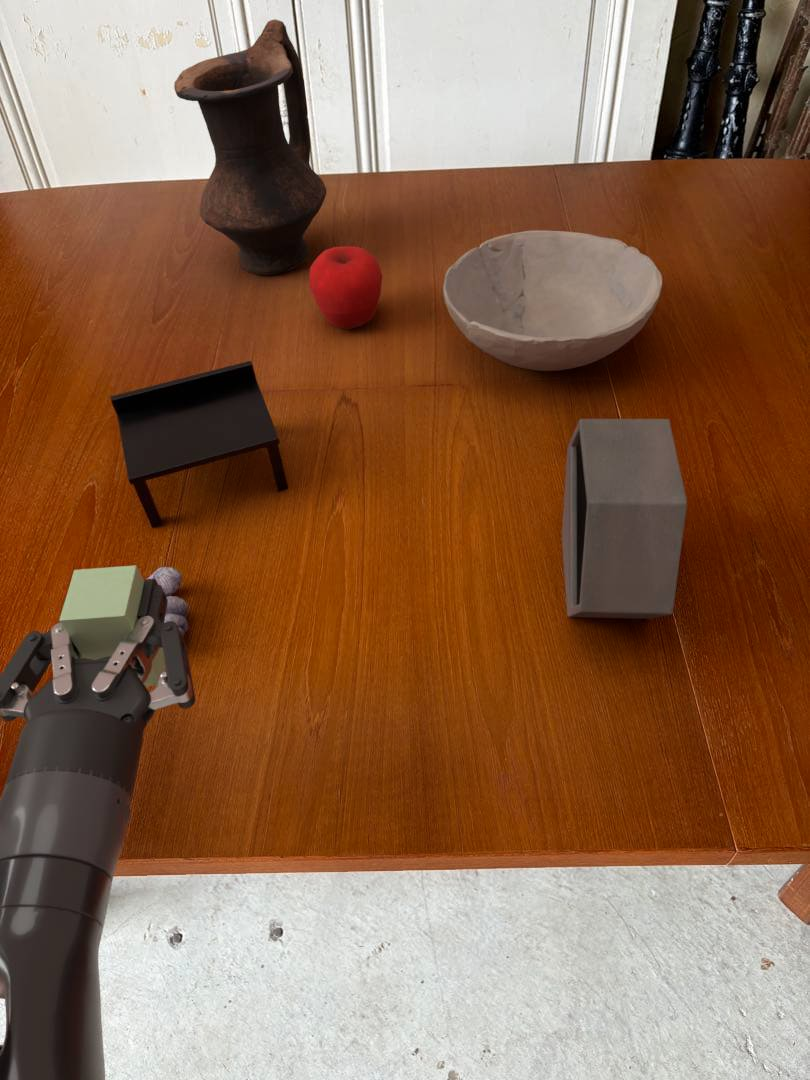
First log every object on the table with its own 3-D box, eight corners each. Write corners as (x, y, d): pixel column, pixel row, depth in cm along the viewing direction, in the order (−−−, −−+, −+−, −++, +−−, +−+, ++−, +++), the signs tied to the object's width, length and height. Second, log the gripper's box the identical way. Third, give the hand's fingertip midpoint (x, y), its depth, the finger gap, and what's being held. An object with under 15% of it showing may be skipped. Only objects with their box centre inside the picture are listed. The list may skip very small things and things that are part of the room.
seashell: (156, 594, 85) (179, 669, 79) (112, 581, 81) (133, 659, 75) (187, 561, 83) (213, 635, 77) (144, 546, 79) (168, 622, 73)
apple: (337, 351, 109) (327, 278, 101) (303, 319, 115) (291, 247, 107) (399, 324, 112) (393, 252, 104) (363, 294, 118) (355, 223, 110)
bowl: (410, 327, 112) (405, 261, 104) (570, 271, 119) (577, 205, 111) (513, 437, 96) (516, 367, 88) (691, 364, 103) (708, 294, 95)
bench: (150, 530, 89) (122, 465, 82) (137, 461, 97) (110, 396, 90) (290, 489, 92) (275, 423, 85) (267, 425, 100) (251, 360, 93)
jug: (285, 304, 117) (242, 79, 95) (190, 274, 125) (128, 58, 102) (365, 237, 129) (344, 22, 106) (274, 213, 136) (235, 7, 113)
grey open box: (561, 459, 86) (587, 399, 66) (636, 459, 85) (685, 398, 65) (561, 619, 84) (588, 609, 63) (637, 621, 83) (689, 611, 63)
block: (102, 689, 63) (58, 620, 56) (114, 640, 66) (74, 569, 59) (162, 685, 63) (124, 615, 56) (170, 636, 66) (136, 564, 59)
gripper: (164, 767, 47) (200, 547, 59) (-78, 784, 48) (5, 563, 59) (197, 820, 53) (224, 610, 64) (-20, 835, 53) (45, 624, 65)
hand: (119, 588), depth 62 cm, fingers closed on block, 4 cm apart
